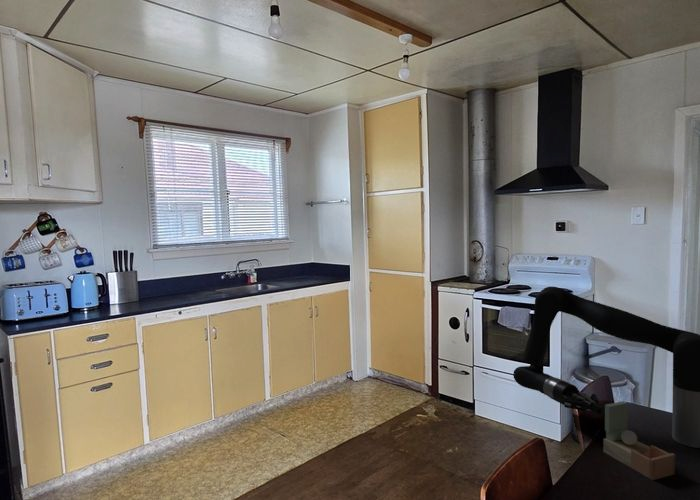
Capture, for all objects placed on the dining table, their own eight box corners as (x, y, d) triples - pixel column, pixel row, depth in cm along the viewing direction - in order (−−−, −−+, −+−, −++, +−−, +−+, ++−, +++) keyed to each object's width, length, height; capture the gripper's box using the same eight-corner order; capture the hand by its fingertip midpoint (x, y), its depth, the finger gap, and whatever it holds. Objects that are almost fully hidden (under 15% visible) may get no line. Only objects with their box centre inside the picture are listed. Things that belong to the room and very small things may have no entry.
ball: (628, 439, 128) (628, 426, 128) (640, 446, 124) (640, 432, 124) (617, 442, 127) (617, 429, 127) (629, 449, 123) (630, 435, 123)
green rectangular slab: (622, 433, 132) (623, 401, 131) (630, 437, 129) (630, 404, 129) (604, 437, 130) (605, 404, 129) (612, 441, 127) (612, 408, 126)
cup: (652, 462, 123) (652, 443, 123) (674, 474, 117) (675, 454, 117) (630, 467, 121) (631, 448, 121) (652, 480, 115) (652, 460, 115)
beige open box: (624, 446, 132) (624, 434, 132) (652, 462, 123) (652, 448, 123) (603, 451, 130) (603, 438, 129) (630, 467, 121) (631, 453, 121)
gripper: (544, 383, 148) (585, 402, 132) (575, 378, 152) (619, 396, 136) (544, 404, 149) (585, 426, 132) (575, 398, 153) (619, 419, 136)
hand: (602, 411), depth 134 cm, fingers closed
